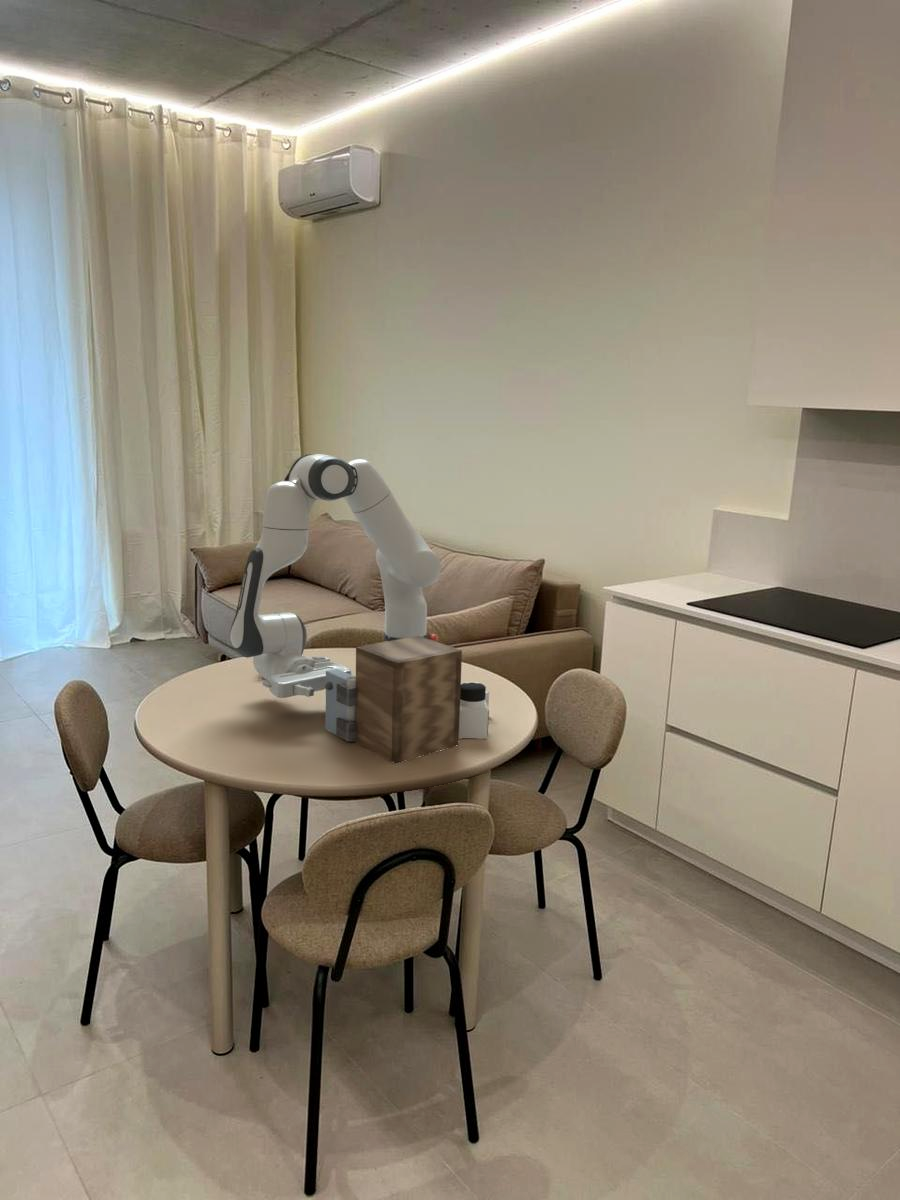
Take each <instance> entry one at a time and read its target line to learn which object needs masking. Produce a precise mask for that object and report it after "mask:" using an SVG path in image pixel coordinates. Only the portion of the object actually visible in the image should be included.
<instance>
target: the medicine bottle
mask: <svg viewBox="0 0 900 1200" xmlns="http://www.w3.org/2000/svg"><path fill="white" fill-rule="evenodd" d="M486 687H487V686H485V684H483V683H481V682H478V681H466V682H463V683H461V690H460V717H459V740H463V739H462V738H487V739H488V738H489V720H490V719H489V718H490V716H489V715H490V709H489V705H488V706H487V704H486V701H485V694H486V691H487V690H486V689H487V688H486Z"/></svg>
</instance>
